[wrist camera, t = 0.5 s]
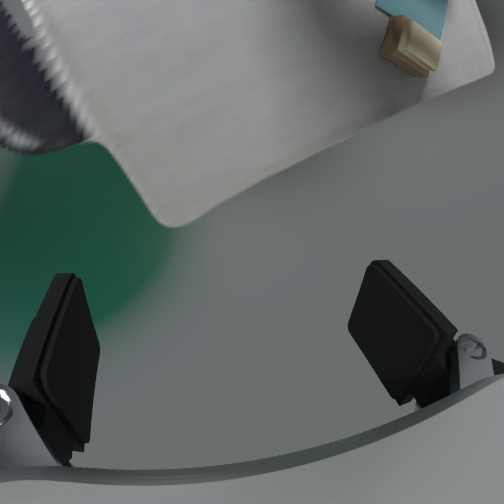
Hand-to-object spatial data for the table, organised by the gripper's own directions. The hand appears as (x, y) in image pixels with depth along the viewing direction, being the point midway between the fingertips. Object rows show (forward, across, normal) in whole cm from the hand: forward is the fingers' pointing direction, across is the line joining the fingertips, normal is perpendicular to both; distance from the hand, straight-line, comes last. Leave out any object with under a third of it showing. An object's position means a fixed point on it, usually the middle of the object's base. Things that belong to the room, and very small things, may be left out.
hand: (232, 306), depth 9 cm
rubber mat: (+29, -30, -28) cm, 50 cm away
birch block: (+25, -28, -18) cm, 42 cm away
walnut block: (+29, -28, -18) cm, 44 cm away
